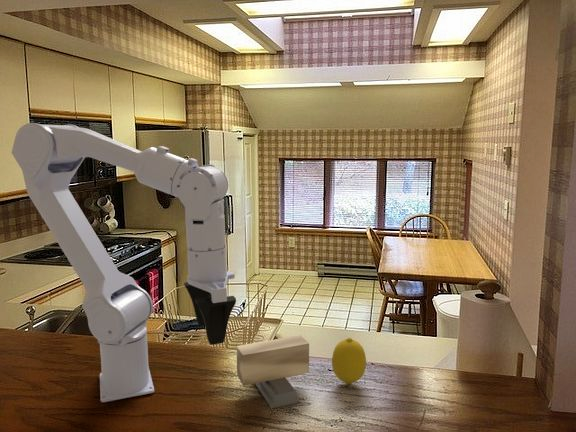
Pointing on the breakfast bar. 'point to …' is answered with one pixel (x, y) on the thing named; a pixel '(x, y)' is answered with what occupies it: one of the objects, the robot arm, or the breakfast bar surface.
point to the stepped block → (278, 392)
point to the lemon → (349, 361)
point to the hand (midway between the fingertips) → (210, 333)
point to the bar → (272, 359)
